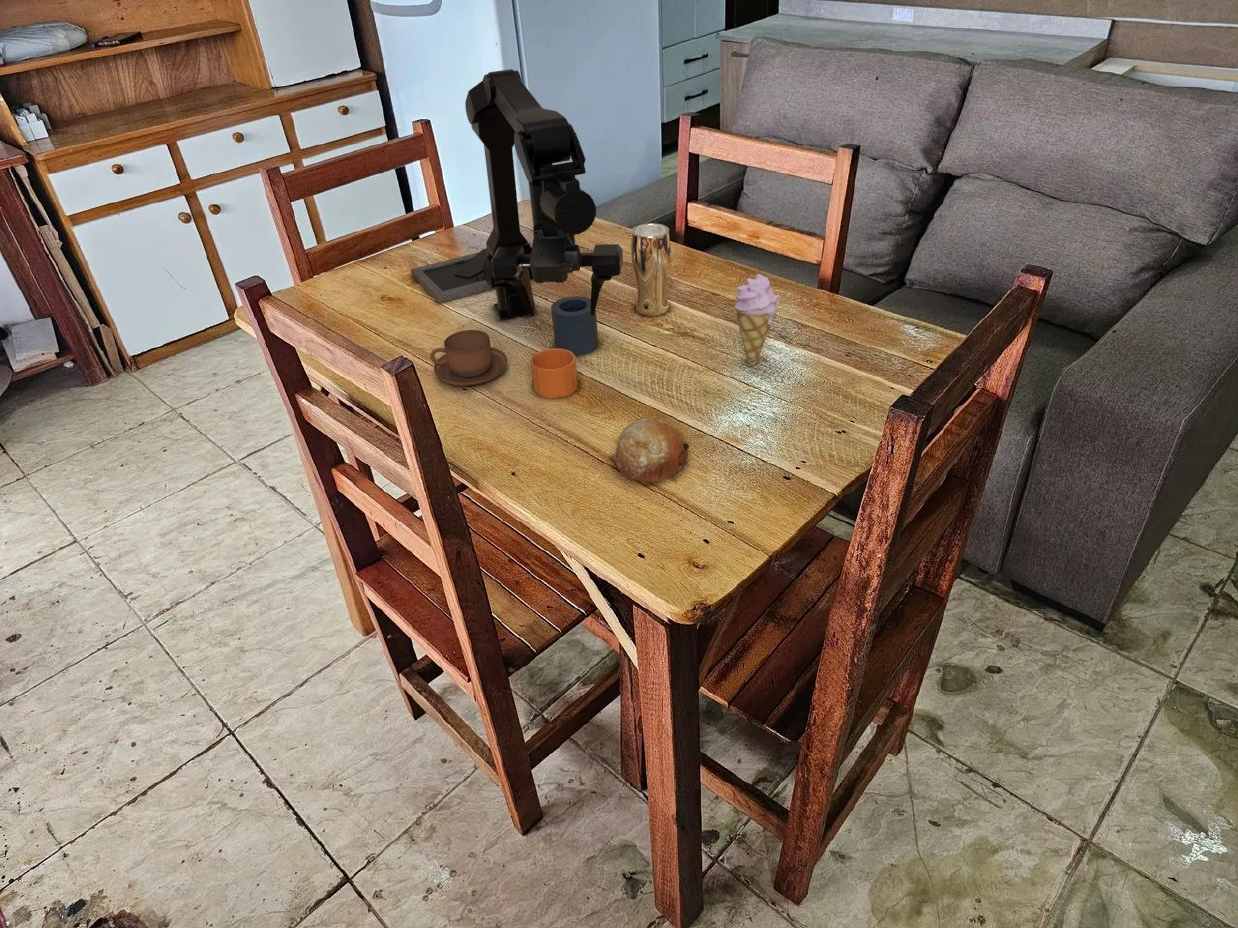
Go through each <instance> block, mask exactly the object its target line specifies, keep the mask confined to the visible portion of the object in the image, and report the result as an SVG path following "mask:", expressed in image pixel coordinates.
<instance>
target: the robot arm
mask: <svg viewBox="0 0 1238 928" xmlns="http://www.w3.org/2000/svg"><path fill="white" fill-rule="evenodd" d="M464 105H465V107H464V108H465V113H466V117H467V120H468V123H469V125H470V126H471V130H472V131H473V133H474V134H475V135H476V136H477V138H478V139H479V140H480V142H481V143H482V144H483V149H484V157H485V166H486V175H487V183H488V184H487V185H488V193H489V201H490V210H491V219H492V226H493V227H492V230H491V232H490V234H489V236H488V238H487V240H486V242H485V245H486V246H485V247H486V248H487V256H485V259H484V263H483V268H482V269H483V274H484V278H485V281H486V282H487V283H488V285H489V286H490V287H491V289H492V288H494V287H495V289H494V290H495V296H496V301H497V303H493V308H494V310H495V312H496V314H497V316H498V318H499V320H501V321H502V320H509V319H513V318H515V319H516V318H519V317H524V316H529V315H530V317H535V314H536V310H535V309H536V308H535V307H536V305H535V299H534V294H533V288H532V281H533V282H534V283H536V284H544V283H556V284H561V283H565V282H567V280H568V276H569V275H568V274H572V273H573V272H580V271H581V267H582V268H583V267H591V271H592V274H591V277H590V284H591V285H590V287H591V288H590V299H591V305H590V308H591V315H592V316H594V313H595V309H596V310H597V305H598V300H599V297H600V294H601V293H600V292H601V290H602V288H603V286H604V283H605V282H609V281H611V280H612V279H613V277H618V276H620V275H621V272H622V267H623V262H624V255H623V254H624V253H623V248H622V246H620V244H618V243H610V244H609V243H608V244H605V243H604V244H603V243H602V244H601V243H600V244H594V248H593V250H592V252H581V249H580V246H579V244H576V235H580V234H582V233H584V232H586V231H587V230H589V229H590V228H591V226H592V225H593V223H594V221H595V219H596V216H597V206H596V204H595V200H594V199H593V197H592V196H591V195H590V194H589V193H588V192H586V191H585V190H584V189H582V188H581V184H580V183H581V182H580V179H577V178H576V176H579V175H586V167H585V163H586V160H587V159H586V157H585V154H584V151H583V149H582V146H581V143H580V141H579V137H578V135H577V132H576V131H575V129H574V127H573V125H572V124H571V123H570V122H569V121H568V119H567V118H566V117H565V116H564V115H562V114H561V113H560V112H558V111H557V110H553V109H548V108H544V107H542V105H541V104H540V103H539V102H538V100H537V99H536V98H535V97H534V95H533V94H532V93H531V92H530V90H529V89H528V88H527V86H526V85H525V84H524V82H523V80H522V78H521V73H520V72H519V71H518V70H514V69H512V68H511V69H509V68H508V69H503V70H502V69H501V70H496V71H495V70H494V71H489V72H488V73H487V74H484V75H483V76H482V80H481V81H480V82H479V83H477V84H476V85H474V86H473V87H471V88H470V89H469V90H468V91H467V94H466V98H465V103H464ZM513 148H514V149H515V152H516V156H517V158H518V160H519V163H520V165H521V168H522V170H523V173H524V175H525V178H526V180H527V181H528V182H527V183H528V191H529V198H530V207H531V216H532V225H533V226H532V231H533V232H532V234H533V237H532V238H533V240H532V243H531V244H530V242H529V241H528V240H527V239H526V236H524V234H523V233H522V231H521V227H520V225H521V224H520V215H519V214H520V213H519V203H518V194H517V192H518V191H517V183H516V172H515V171H516V170H515V162H514V160H515V159H514V151H513ZM557 163H558V164H557ZM486 248H485V249H486ZM531 280H532V281H531ZM492 290H493V289H492Z"/></svg>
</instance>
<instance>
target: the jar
mask: <svg viewBox="0 0 1238 928" xmlns="http://www.w3.org/2000/svg"><path fill="white" fill-rule="evenodd" d="M590 305H591V297H590V298H589V297H588V296H587V297H586V296H580V295H577V296H576V295H573V296H572V295H571V296H566V297H562V298H559V299H557V300H555V301H554V302H553V303H552V304H551V306H550V310H551V319H552V329H553V338H554V348H561V349H566V350H569V351H571V352H573V353H574V355H575V357H577V356H583V355H587V354H590V353H592V352H593V351H595V350H596V349H597V348H598V346H599V334H598V321H597V319H598V318H597V308H596V309H595V313H594V316H592V315H591V308H590Z"/></svg>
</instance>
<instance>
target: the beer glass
mask: <svg viewBox="0 0 1238 928" xmlns="http://www.w3.org/2000/svg"><path fill="white" fill-rule="evenodd" d="M670 239H671V238H670V228H669V227H668V226H666V225H665V224H662V223H643V224H638V225H636V226H634V227H633V228H632V229H631V241H630V242H631V243H630V254H631V265H632V270H633V274H634V275H633V276H634V280H635V283H636V290H637V297H636V304H635V310H636V312H637V313H638V314H640V315H643V316H646V317H647V316H648V317H655V316H660V315H664V314H665V313H666V312H668V311H669V308H670V306H669V302H668V295H667V284H668V278H669V274H670V273H669V272H670V265H671V240H670Z"/></svg>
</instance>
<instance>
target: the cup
mask: <svg viewBox="0 0 1238 928" xmlns="http://www.w3.org/2000/svg"><path fill="white" fill-rule="evenodd" d="M577 368H578V367H577V356H575V355H574V353H573V352H571V351H569V350H566V349H561V348H555V347H553V348H546V349H542V350H540V351H538V352H536V353H534V354H533V355H532V356H531V358H530V370H531V371H530V372H531V379H532V385H533V390H534V392H535V393H536V394H537V395H539V396H540V397H543V398H548V399H558V398H563V397H566V396H569V395H571V394H573V393H574V392H575V391H576V390H577V389H578V386H579V383H578V382H579V380H578V379H579V378H578V369H577Z"/></svg>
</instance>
